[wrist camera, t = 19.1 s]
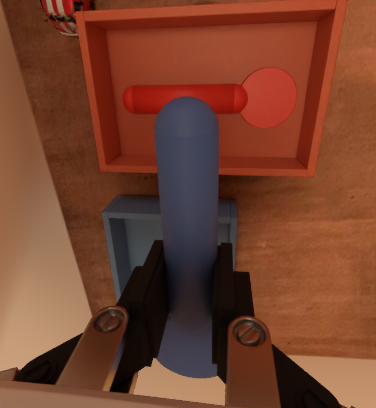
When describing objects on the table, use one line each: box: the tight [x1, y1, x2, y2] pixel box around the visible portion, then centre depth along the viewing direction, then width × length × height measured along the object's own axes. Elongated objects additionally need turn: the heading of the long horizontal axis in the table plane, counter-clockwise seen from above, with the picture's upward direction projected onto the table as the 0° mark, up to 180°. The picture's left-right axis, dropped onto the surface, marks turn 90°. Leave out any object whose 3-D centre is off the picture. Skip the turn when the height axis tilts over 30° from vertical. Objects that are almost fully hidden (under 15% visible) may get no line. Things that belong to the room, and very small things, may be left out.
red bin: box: [75, 0, 347, 177], centre depth 21 cm, size 17×11×4 cm, turn 91°
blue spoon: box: [154, 96, 219, 378], centre depth 11 cm, size 14×4×2 cm, turn 2°
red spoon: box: [122, 67, 297, 128], centre depth 21 cm, size 14×4×2 cm, turn 91°
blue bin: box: [102, 195, 238, 302], centre depth 29 cm, size 12×17×4 cm
